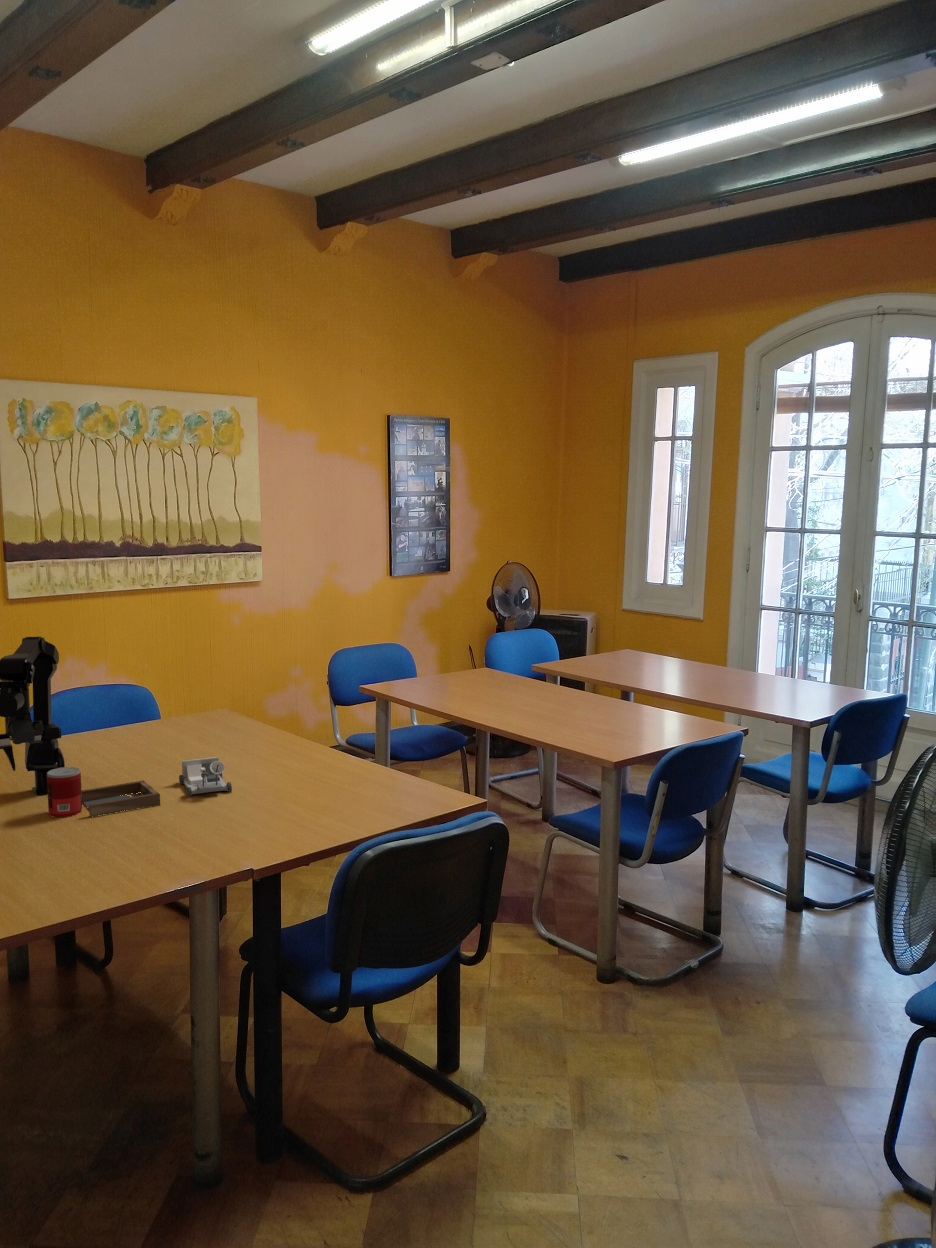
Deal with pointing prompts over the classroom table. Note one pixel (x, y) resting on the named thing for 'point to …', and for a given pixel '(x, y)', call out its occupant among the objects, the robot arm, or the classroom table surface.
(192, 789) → the toy car
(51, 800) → the canned food
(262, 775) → the classroom table surface
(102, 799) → the mat
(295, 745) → the classroom table surface
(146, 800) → the cradle
